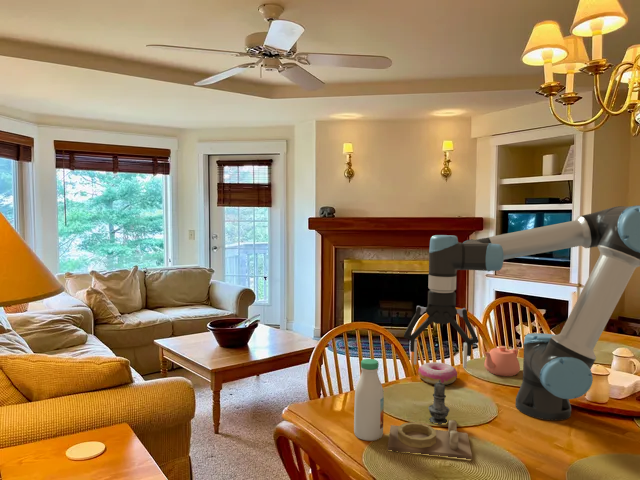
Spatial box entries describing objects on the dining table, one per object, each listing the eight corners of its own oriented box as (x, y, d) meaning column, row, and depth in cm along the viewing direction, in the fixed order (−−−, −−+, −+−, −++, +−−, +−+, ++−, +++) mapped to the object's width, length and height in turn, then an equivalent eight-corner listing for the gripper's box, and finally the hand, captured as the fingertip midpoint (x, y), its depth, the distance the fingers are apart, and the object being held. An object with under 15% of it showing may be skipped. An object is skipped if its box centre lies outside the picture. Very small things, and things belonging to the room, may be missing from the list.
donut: (437, 371, 177) (438, 358, 176) (465, 382, 165) (466, 368, 165) (410, 377, 170) (410, 363, 170) (437, 389, 158) (438, 375, 158)
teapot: (530, 373, 176) (531, 347, 175) (497, 381, 167) (497, 354, 166) (502, 363, 186) (503, 339, 186) (470, 370, 177) (471, 346, 177)
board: (467, 437, 125) (467, 418, 124) (471, 461, 113) (472, 439, 113) (390, 429, 129) (391, 410, 129) (387, 451, 117) (387, 430, 117)
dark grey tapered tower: (449, 426, 131) (451, 384, 130) (428, 424, 132) (429, 382, 132) (448, 417, 137) (449, 376, 136) (427, 415, 138) (428, 375, 137)
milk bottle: (375, 444, 121) (376, 367, 119) (348, 436, 125) (349, 362, 123) (387, 432, 127) (389, 359, 126) (362, 425, 131) (363, 354, 130)
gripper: (487, 290, 133) (484, 364, 135) (397, 286, 138) (395, 357, 140) (490, 295, 126) (487, 373, 127) (396, 290, 131) (394, 365, 132)
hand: (439, 365), depth 134 cm, fingers open, 13 cm apart
